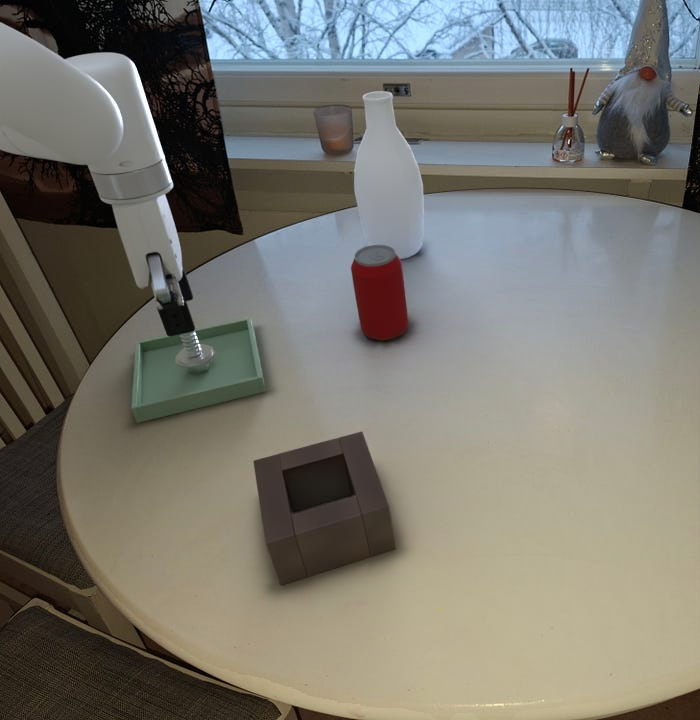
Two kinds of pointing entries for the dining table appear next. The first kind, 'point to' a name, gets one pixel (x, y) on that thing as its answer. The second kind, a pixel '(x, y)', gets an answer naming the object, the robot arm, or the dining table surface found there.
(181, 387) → the tray
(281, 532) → the holder
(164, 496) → the dining table surface
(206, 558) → the dining table surface
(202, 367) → the screw
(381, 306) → the beverage can
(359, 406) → the dining table surface
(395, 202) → the bottle
